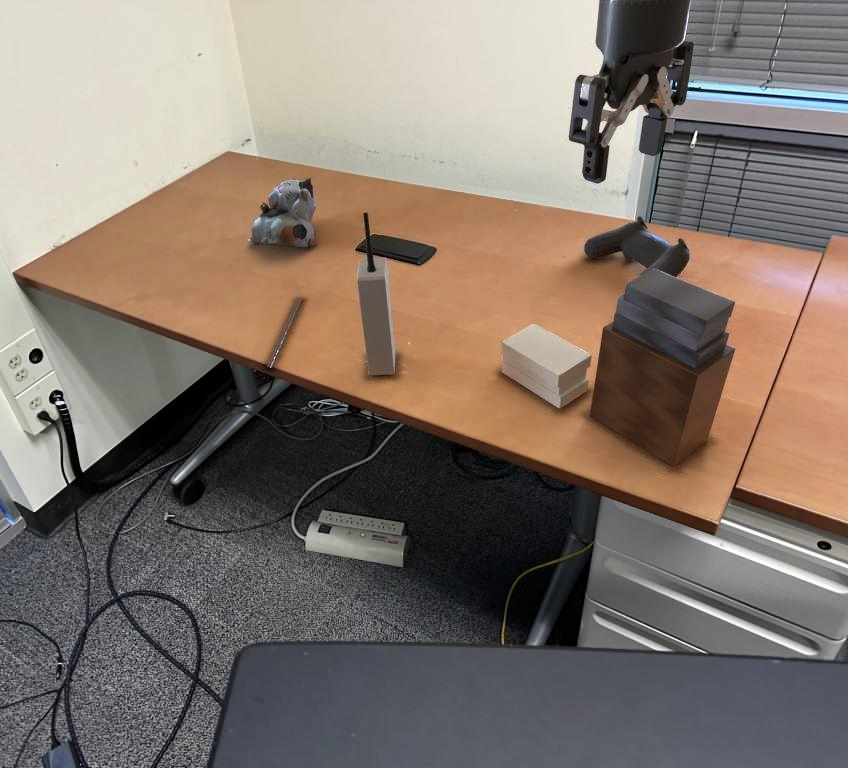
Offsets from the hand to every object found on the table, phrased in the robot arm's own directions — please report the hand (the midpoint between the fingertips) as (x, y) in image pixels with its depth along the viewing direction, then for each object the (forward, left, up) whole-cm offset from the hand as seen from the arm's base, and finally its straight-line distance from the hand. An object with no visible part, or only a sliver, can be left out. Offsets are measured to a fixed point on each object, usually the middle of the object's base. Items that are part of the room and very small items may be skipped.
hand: (622, 166), depth 70 cm
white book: (+6, -3, -28) cm, 29 cm away
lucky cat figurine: (+58, -38, -32) cm, 77 cm away
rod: (+47, -9, -33) cm, 58 cm away
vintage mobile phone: (+29, -3, -32) cm, 44 cm away
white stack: (+6, -3, -32) cm, 33 cm away
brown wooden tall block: (-7, +4, -32) cm, 33 cm away
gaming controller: (-6, -34, -32) cm, 48 cm away
